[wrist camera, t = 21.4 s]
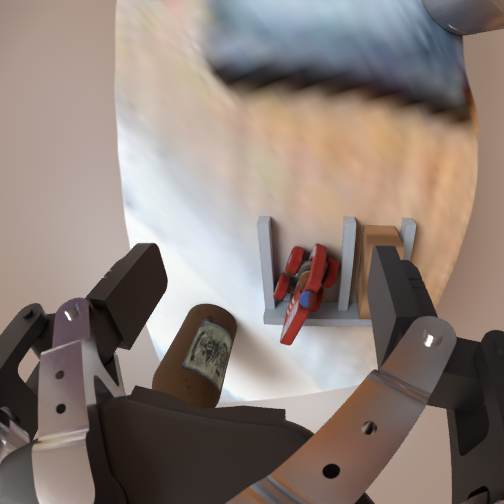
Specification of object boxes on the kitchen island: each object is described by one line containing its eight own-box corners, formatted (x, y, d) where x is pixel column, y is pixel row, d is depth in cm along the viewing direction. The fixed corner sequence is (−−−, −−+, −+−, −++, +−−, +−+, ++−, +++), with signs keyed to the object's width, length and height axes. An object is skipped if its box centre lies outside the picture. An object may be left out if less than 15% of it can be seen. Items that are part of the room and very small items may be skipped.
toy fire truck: (344, 246, 41) (351, 292, 32) (310, 306, 48) (307, 355, 39) (299, 229, 41) (295, 273, 32) (271, 293, 48) (260, 341, 39)
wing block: (363, 224, 39) (370, 246, 34) (393, 225, 38) (404, 247, 33) (355, 293, 45) (358, 319, 40) (382, 293, 44) (388, 319, 39)
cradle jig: (259, 216, 41) (254, 230, 38) (412, 218, 37) (420, 232, 33) (267, 307, 49) (264, 324, 46) (394, 308, 45) (398, 325, 42)
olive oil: (216, 347, 58) (177, 458, 37) (175, 316, 55) (119, 427, 34) (252, 327, 53) (218, 455, 32) (207, 290, 50) (149, 419, 29)
